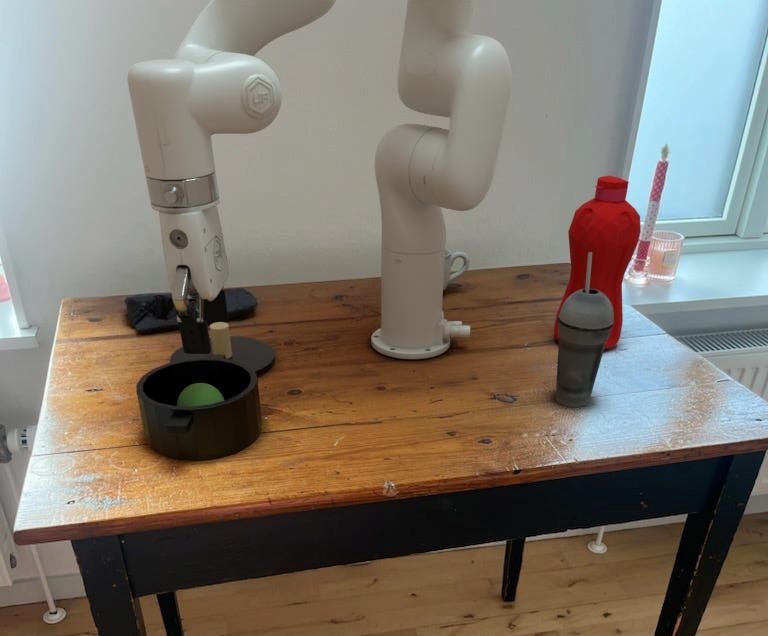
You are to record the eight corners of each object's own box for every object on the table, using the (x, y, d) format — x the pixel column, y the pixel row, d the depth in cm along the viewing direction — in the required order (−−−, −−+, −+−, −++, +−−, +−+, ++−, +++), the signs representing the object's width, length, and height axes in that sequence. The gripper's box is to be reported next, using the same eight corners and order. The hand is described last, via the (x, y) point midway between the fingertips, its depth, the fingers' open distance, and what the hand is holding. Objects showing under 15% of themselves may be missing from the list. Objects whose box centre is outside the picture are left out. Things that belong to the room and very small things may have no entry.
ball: (232, 417, 99) (227, 375, 96) (222, 440, 94) (216, 396, 91) (187, 416, 99) (180, 374, 96) (175, 438, 94) (167, 395, 91)
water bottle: (635, 346, 121) (670, 179, 106) (580, 358, 117) (609, 186, 102) (597, 326, 127) (626, 167, 113) (544, 337, 123) (567, 173, 109)
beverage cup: (568, 416, 101) (593, 267, 89) (535, 394, 106) (554, 251, 95) (609, 405, 104) (639, 259, 92) (575, 384, 109) (599, 243, 97)
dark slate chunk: (264, 322, 128) (262, 294, 125) (131, 337, 122) (125, 309, 119) (248, 292, 140) (246, 267, 137) (125, 305, 134) (120, 279, 131)
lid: (282, 344, 120) (280, 307, 117) (265, 387, 108) (262, 348, 104) (186, 341, 121) (181, 305, 117) (158, 384, 108) (151, 345, 105)
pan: (273, 397, 105) (269, 350, 101) (245, 474, 89) (239, 422, 85) (170, 394, 105) (162, 347, 101) (123, 470, 89) (111, 418, 85)
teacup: (387, 301, 137) (388, 257, 132) (396, 282, 145) (397, 239, 141) (464, 306, 135) (467, 261, 130) (468, 286, 143) (471, 243, 139)
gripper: (198, 211, 76) (222, 367, 86) (233, 172, 90) (250, 309, 100) (125, 212, 76) (158, 366, 86) (171, 172, 90) (194, 309, 100)
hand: (207, 336), depth 93 cm, fingers open, 9 cm apart
